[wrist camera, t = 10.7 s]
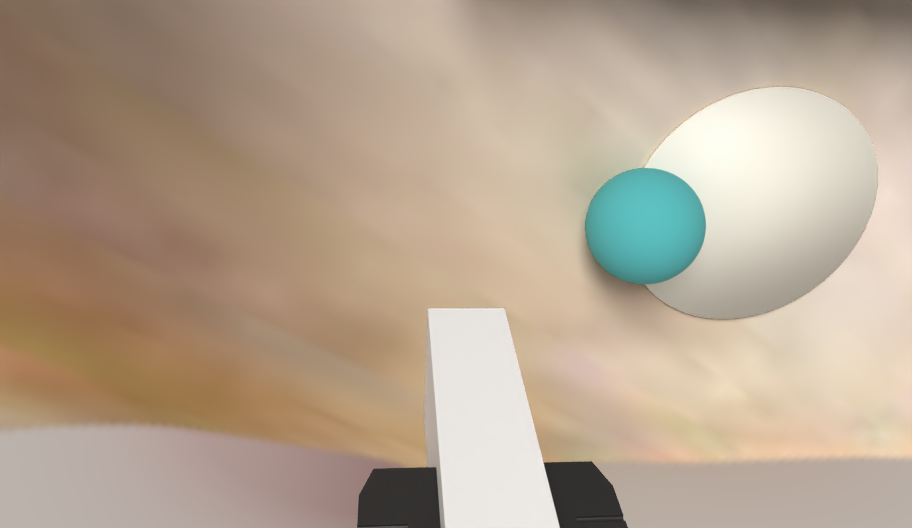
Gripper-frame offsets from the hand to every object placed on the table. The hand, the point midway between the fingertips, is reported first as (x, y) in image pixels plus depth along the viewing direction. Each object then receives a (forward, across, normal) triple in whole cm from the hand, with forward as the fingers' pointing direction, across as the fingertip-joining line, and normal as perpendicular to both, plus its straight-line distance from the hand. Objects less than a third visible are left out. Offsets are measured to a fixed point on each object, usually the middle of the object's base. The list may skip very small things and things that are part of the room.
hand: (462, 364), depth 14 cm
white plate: (+20, +17, -6) cm, 27 cm away
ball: (+17, +10, -6) cm, 21 cm away
